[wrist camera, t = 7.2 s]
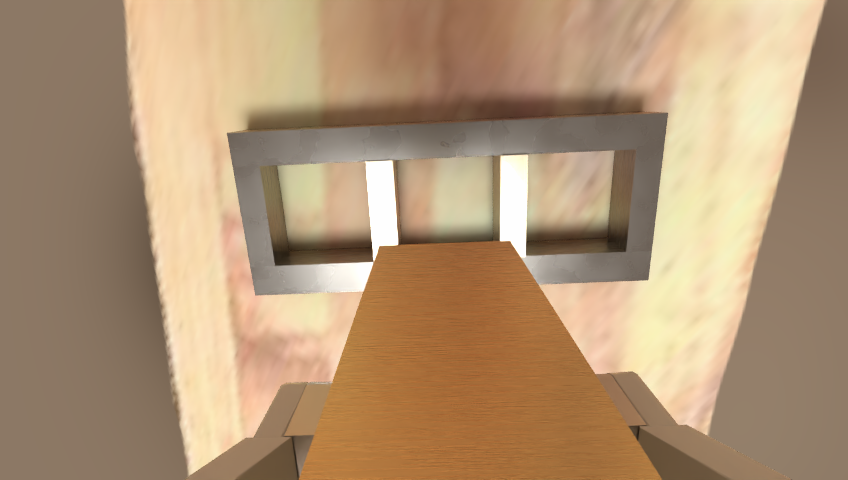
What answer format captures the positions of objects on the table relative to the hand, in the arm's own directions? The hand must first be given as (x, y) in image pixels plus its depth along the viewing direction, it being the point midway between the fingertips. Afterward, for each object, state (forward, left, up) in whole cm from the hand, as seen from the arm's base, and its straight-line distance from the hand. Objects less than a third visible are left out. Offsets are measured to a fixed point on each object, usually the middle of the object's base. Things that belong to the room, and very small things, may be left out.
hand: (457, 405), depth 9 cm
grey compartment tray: (0, +1, -22) cm, 22 cm away
